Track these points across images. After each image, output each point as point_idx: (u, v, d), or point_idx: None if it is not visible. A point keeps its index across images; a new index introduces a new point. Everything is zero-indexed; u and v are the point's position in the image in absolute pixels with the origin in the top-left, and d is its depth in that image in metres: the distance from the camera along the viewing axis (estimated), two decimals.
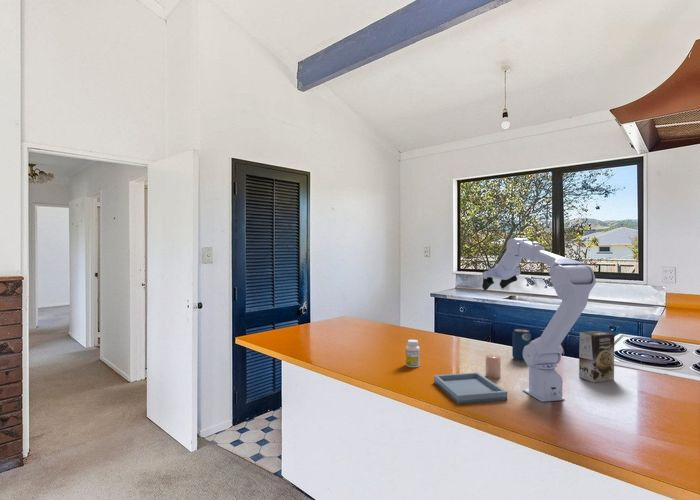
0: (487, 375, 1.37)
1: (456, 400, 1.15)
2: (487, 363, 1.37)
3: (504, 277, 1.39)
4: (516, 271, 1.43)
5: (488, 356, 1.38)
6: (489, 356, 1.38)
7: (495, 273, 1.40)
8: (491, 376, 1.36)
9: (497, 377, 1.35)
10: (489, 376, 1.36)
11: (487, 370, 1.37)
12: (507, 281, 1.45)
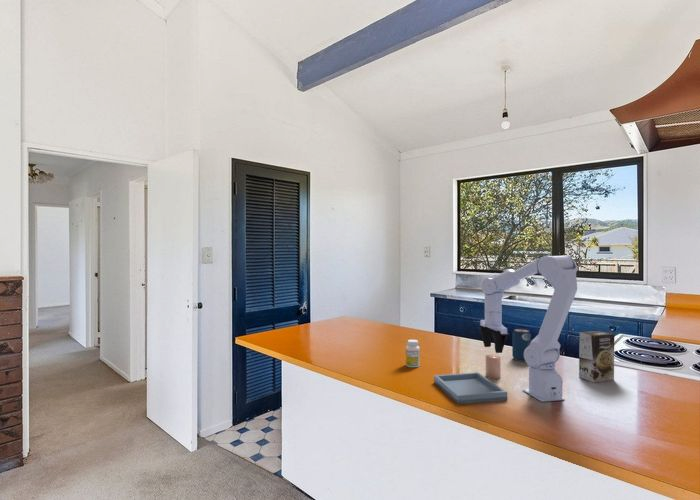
0: (487, 375, 1.37)
1: (456, 400, 1.15)
2: (487, 363, 1.37)
3: (501, 323, 1.37)
4: None
5: (488, 356, 1.38)
6: (489, 356, 1.38)
7: (498, 326, 1.35)
8: (491, 376, 1.36)
9: (497, 377, 1.35)
10: (489, 376, 1.36)
11: (487, 370, 1.37)
12: (490, 334, 1.42)
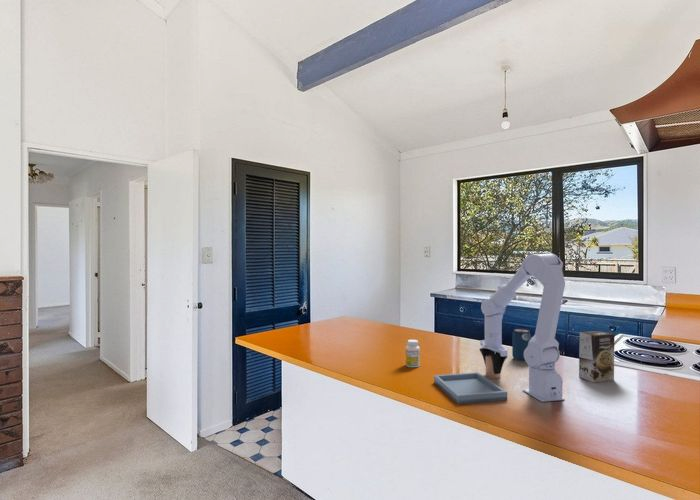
0: (487, 375, 1.37)
1: (456, 400, 1.15)
2: (487, 363, 1.37)
3: (501, 344, 1.37)
4: (485, 341, 1.44)
5: (488, 356, 1.38)
6: (489, 356, 1.38)
7: (498, 347, 1.35)
8: (491, 376, 1.36)
9: (497, 377, 1.35)
10: (489, 376, 1.36)
11: (487, 370, 1.37)
12: None
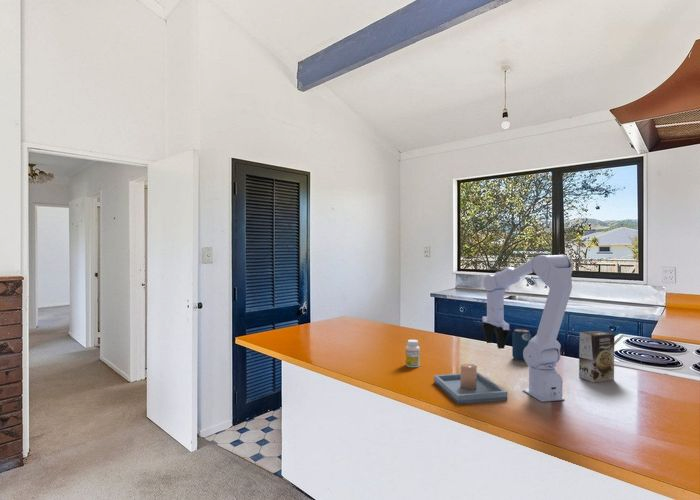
0: (462, 386, 1.24)
1: (456, 400, 1.15)
2: (462, 373, 1.24)
3: (503, 319, 1.39)
4: None
5: (463, 365, 1.25)
6: (464, 365, 1.25)
7: (500, 322, 1.37)
8: (466, 388, 1.22)
9: (472, 389, 1.22)
10: (464, 388, 1.23)
11: (462, 381, 1.24)
12: (492, 330, 1.44)
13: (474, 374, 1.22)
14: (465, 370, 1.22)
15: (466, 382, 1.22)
